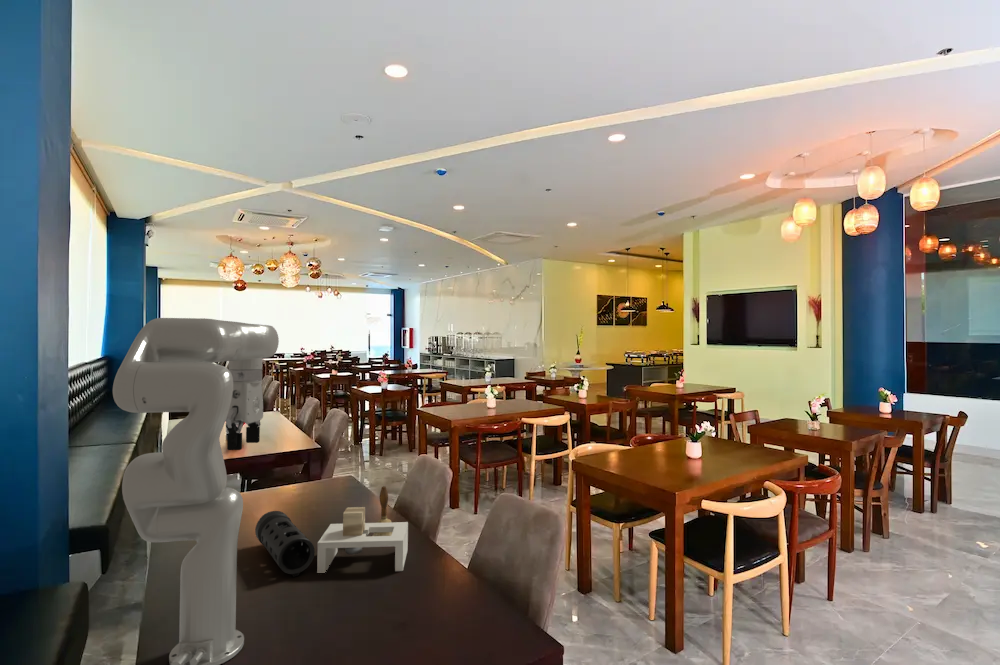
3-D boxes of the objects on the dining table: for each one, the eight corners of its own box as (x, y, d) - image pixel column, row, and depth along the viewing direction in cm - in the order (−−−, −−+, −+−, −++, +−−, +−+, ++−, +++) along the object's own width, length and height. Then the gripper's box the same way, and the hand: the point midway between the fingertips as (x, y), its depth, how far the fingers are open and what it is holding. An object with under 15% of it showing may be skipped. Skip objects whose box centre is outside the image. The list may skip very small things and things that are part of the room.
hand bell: (371, 545, 152) (371, 491, 152) (369, 535, 160) (369, 484, 160) (399, 542, 154) (400, 489, 155) (396, 532, 162) (396, 482, 163)
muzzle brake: (276, 583, 128) (277, 541, 128) (253, 547, 150) (253, 512, 150) (315, 573, 133) (316, 533, 134) (287, 540, 156) (287, 506, 156)
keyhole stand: (402, 571, 135) (403, 540, 135) (317, 573, 133) (317, 542, 133) (407, 549, 149) (407, 522, 149) (330, 551, 147) (330, 523, 147)
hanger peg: (361, 554, 138) (362, 512, 138) (342, 555, 138) (343, 513, 138) (364, 547, 143) (365, 507, 143) (346, 547, 143) (347, 507, 143)
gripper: (245, 378, 119) (243, 452, 118) (274, 375, 136) (273, 440, 135) (212, 378, 118) (210, 453, 118) (245, 375, 136) (244, 440, 135)
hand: (244, 446), depth 127 cm, fingers open, 9 cm apart
